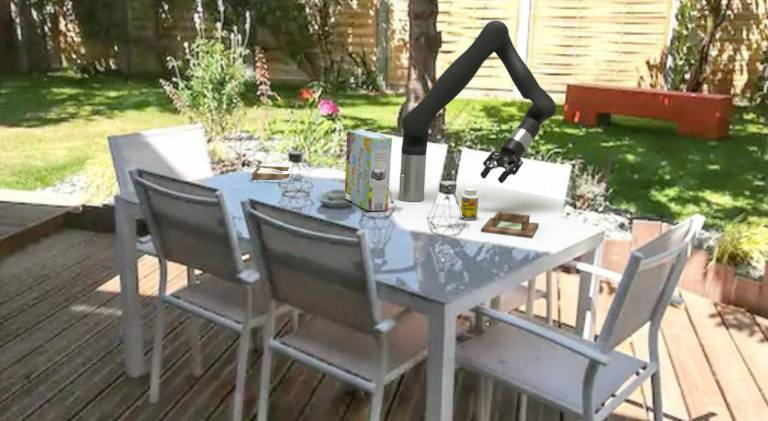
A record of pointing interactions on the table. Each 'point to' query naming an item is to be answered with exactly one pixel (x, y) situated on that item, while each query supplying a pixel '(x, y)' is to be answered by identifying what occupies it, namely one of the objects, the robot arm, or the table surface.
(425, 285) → the table surface
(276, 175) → the tray
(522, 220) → the brown wooden square frame
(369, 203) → the snack box
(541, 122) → the robot arm
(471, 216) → the supplement bottle
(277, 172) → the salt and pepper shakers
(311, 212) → the table surface
